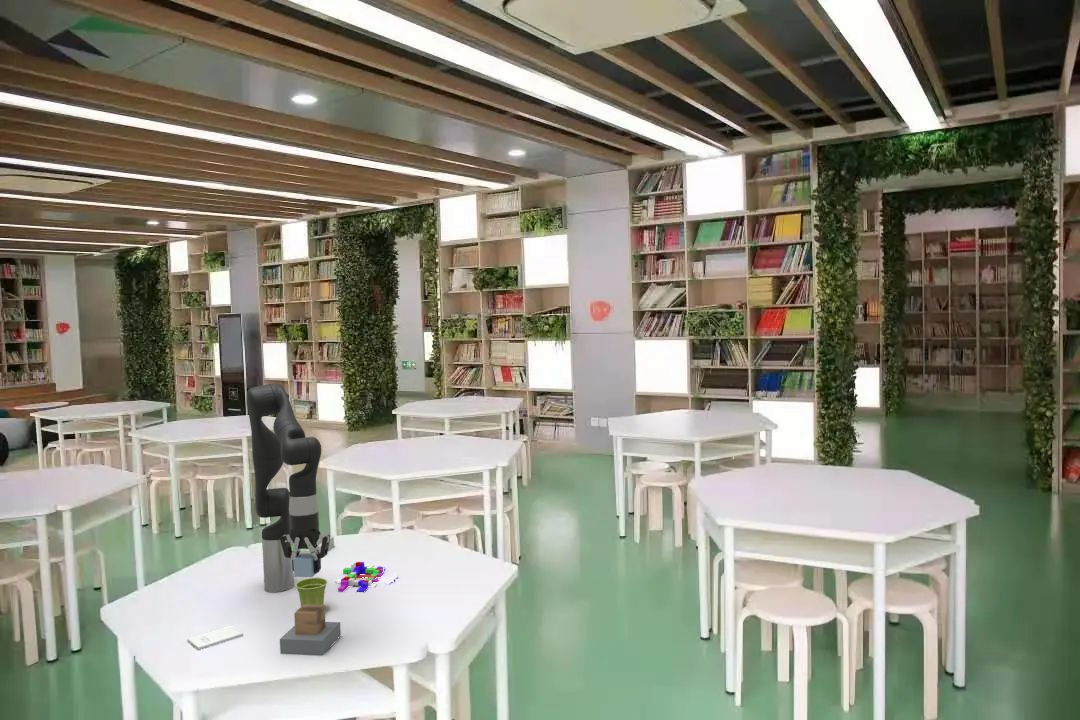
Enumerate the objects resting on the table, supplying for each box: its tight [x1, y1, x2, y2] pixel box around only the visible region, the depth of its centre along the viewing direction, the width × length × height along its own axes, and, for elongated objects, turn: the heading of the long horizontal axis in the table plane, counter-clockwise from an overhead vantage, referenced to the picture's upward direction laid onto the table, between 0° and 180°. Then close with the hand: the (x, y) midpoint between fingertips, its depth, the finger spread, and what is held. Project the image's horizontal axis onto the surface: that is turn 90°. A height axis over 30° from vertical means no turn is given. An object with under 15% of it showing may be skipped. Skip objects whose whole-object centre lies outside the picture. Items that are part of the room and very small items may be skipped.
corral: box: [291, 536, 335, 555], centre depth 292 cm, size 17×17×4 cm
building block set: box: [334, 561, 384, 593], centre depth 262 cm, size 25×20×4 cm
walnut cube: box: [293, 604, 326, 635], centre depth 211 cm, size 6×6×6 cm
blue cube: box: [293, 553, 316, 578], centre depth 210 cm, size 5×5×5 cm
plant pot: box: [295, 577, 328, 608], centre depth 235 cm, size 9×9×9 cm
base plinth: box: [279, 621, 342, 656], centre depth 211 cm, size 12×12×4 cm
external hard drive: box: [186, 625, 244, 651], centre depth 217 cm, size 2×8×12 cm
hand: (306, 572), depth 210 cm, fingers closed on blue cube, 5 cm apart
